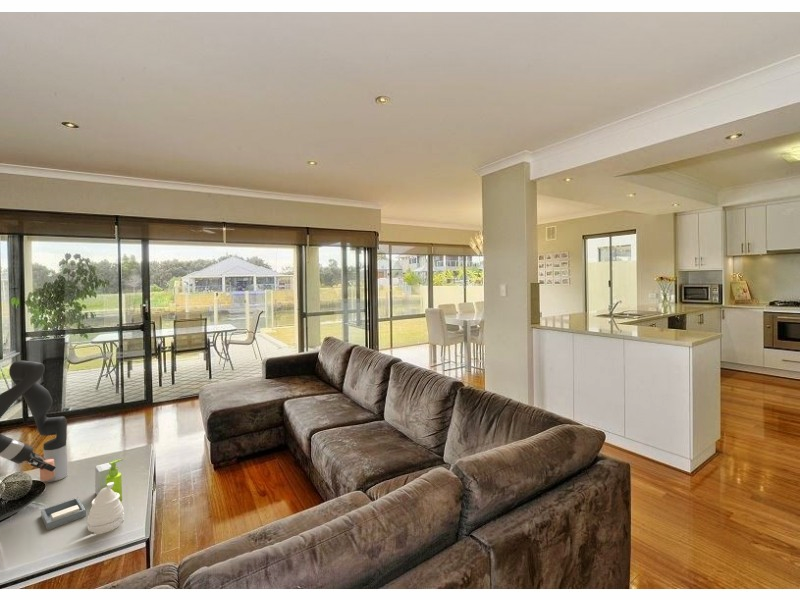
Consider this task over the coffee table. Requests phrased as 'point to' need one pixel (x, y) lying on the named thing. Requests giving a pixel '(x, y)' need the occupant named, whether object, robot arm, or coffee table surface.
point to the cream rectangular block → (64, 512)
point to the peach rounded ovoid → (47, 471)
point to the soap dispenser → (115, 478)
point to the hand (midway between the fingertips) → (52, 467)
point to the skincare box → (101, 476)
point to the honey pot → (105, 511)
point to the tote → (65, 519)
